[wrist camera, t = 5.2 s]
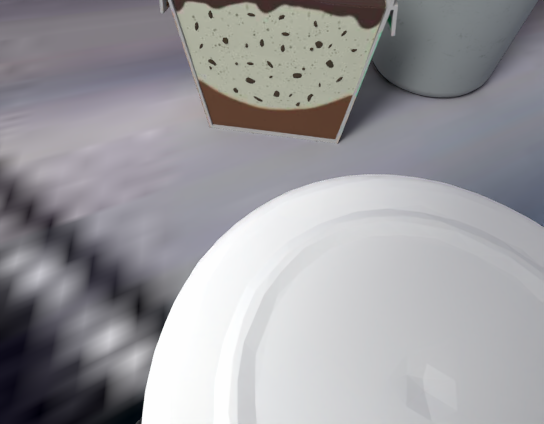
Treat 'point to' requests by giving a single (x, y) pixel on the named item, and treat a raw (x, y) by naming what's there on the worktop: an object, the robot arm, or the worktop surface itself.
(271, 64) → the food container
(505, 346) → the sprinkles bottle
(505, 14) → the water bottle
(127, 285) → the worktop surface
